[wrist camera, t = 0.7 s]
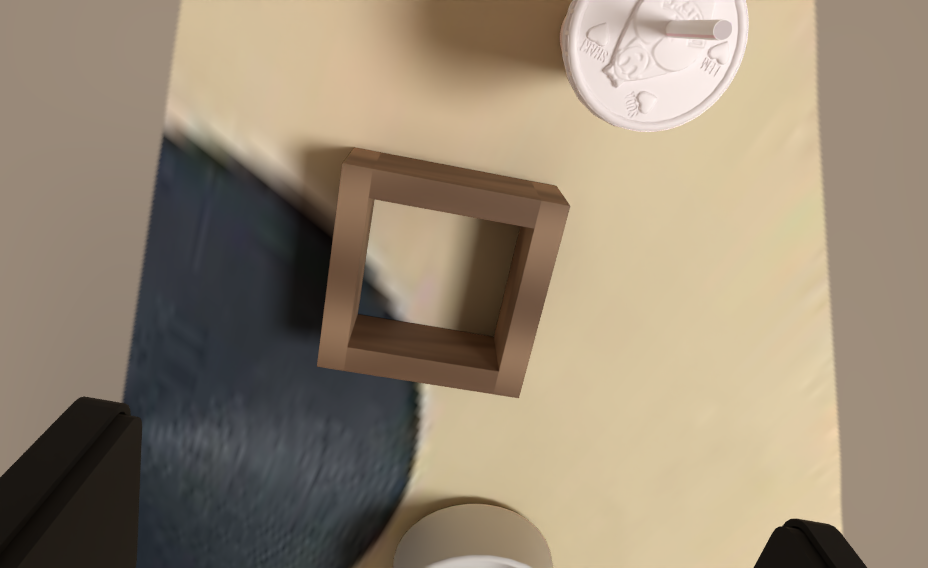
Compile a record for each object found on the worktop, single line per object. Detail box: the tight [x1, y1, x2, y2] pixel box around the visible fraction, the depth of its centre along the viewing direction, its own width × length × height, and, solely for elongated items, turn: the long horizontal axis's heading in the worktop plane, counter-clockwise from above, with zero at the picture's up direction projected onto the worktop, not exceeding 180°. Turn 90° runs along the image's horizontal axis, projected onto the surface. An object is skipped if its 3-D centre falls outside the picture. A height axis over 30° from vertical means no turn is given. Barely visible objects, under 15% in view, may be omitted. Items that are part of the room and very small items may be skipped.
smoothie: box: [560, 0, 748, 132], centre depth 24 cm, size 6×6×14 cm
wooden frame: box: [317, 147, 570, 398], centre depth 33 cm, size 11×11×4 cm
